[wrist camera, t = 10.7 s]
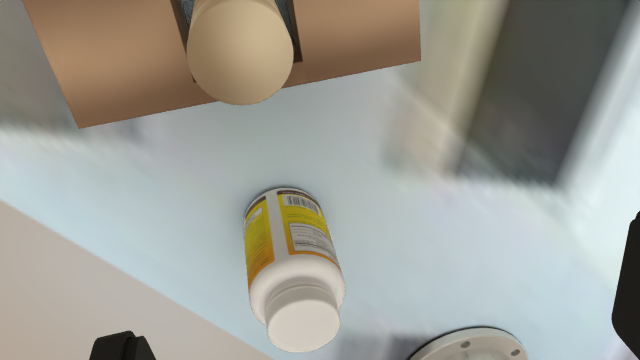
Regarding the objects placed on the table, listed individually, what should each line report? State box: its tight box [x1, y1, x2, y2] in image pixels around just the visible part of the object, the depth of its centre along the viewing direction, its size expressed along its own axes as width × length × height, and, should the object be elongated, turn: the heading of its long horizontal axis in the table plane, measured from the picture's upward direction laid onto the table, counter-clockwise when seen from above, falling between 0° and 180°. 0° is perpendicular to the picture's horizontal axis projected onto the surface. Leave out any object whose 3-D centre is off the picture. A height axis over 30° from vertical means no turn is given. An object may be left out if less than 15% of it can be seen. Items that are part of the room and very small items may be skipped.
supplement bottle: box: [243, 188, 345, 353], centre depth 32 cm, size 6×6×10 cm
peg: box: [187, 0, 293, 105], centre depth 24 cm, size 4×4×10 cm
